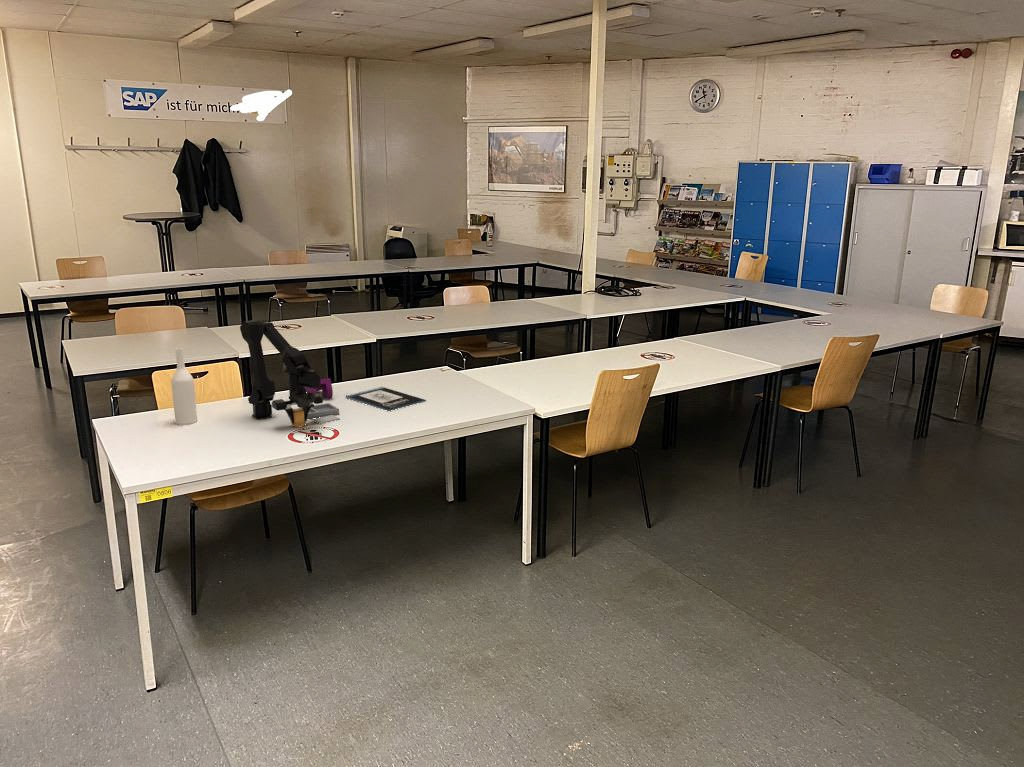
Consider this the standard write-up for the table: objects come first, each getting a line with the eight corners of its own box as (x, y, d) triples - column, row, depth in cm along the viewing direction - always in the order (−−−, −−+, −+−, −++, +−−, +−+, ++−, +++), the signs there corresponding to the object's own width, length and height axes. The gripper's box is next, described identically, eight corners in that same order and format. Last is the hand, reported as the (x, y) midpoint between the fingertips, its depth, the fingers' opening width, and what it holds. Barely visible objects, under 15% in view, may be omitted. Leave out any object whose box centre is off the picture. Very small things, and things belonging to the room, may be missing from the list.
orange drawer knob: (295, 428, 298) (294, 413, 297) (290, 424, 302) (289, 410, 301) (307, 425, 301) (306, 411, 300) (302, 422, 305) (301, 408, 304)
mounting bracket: (303, 407, 346) (312, 399, 330) (299, 389, 347) (309, 380, 331) (323, 404, 350) (333, 396, 335) (320, 386, 351) (330, 378, 336)
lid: (320, 425, 304) (320, 422, 303) (312, 422, 308) (312, 419, 307) (340, 420, 310) (339, 418, 309) (332, 417, 314) (331, 414, 313)
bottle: (199, 418, 308) (192, 345, 301) (194, 424, 301) (187, 350, 293) (178, 419, 307) (170, 346, 299) (173, 425, 299) (165, 350, 292)
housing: (297, 421, 306) (296, 416, 305) (288, 415, 313) (287, 409, 313) (339, 414, 316) (338, 408, 315) (329, 408, 324) (328, 402, 323)
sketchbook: (388, 413, 321) (388, 408, 320) (344, 399, 340) (344, 395, 339) (426, 402, 337) (426, 398, 336) (382, 389, 355) (381, 385, 355)
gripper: (280, 392, 286) (283, 432, 290) (327, 385, 297) (329, 423, 301) (270, 386, 294) (272, 424, 299) (316, 379, 305) (318, 416, 309)
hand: (298, 422), depth 302 cm, fingers closed on orange drawer knob, 4 cm apart
